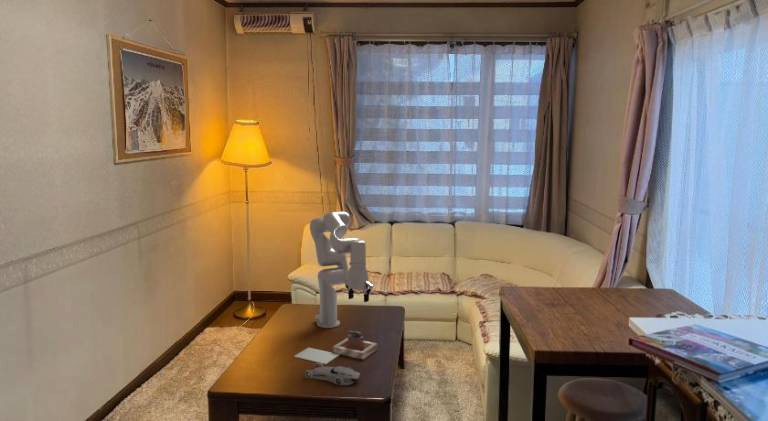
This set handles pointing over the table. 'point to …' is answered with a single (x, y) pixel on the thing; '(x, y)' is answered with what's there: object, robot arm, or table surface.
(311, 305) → the table surface
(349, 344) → the lighter
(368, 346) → the slot holder
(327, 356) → the mat
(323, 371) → the car model
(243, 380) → the table surface
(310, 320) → the table surface
